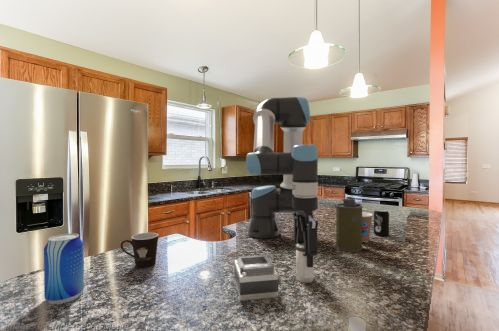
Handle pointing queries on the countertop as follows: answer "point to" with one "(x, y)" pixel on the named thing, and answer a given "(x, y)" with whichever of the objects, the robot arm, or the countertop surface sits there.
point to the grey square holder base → (255, 277)
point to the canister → (349, 225)
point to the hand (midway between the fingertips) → (304, 272)
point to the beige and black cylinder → (301, 264)
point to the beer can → (63, 268)
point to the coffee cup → (366, 226)
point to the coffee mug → (143, 249)
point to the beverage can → (381, 222)
